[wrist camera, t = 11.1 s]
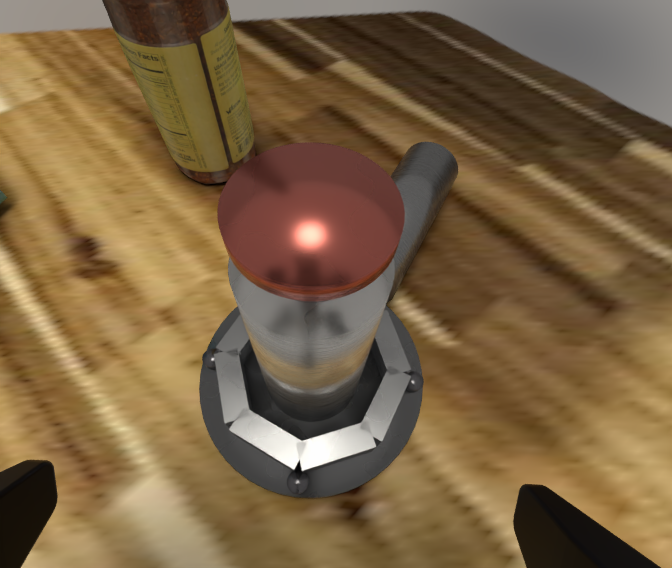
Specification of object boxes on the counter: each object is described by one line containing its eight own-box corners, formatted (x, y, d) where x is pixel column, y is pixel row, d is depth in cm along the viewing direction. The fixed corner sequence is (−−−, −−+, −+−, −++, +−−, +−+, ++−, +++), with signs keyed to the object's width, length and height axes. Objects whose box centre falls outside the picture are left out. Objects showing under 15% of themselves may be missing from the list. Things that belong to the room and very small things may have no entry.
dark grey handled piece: (360, 550, 18) (371, 559, 15) (155, 420, 21) (123, 401, 17) (499, 218, 29) (525, 177, 25) (353, 157, 31) (358, 113, 28)
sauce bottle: (235, 123, 33) (149, -313, 15) (272, 169, 30) (218, -287, 13) (158, 150, 30) (-42, -317, 13) (190, 203, 28) (-4, -287, 11)
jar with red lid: (357, 424, 20) (419, 301, 9) (260, 419, 20) (187, 287, 8) (359, 334, 23) (407, 144, 11) (272, 329, 23) (229, 131, 11)
